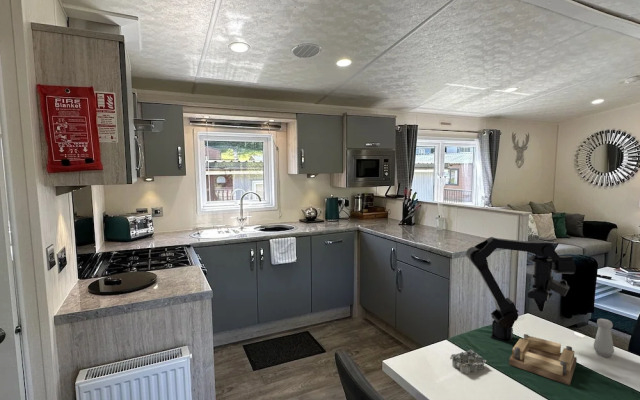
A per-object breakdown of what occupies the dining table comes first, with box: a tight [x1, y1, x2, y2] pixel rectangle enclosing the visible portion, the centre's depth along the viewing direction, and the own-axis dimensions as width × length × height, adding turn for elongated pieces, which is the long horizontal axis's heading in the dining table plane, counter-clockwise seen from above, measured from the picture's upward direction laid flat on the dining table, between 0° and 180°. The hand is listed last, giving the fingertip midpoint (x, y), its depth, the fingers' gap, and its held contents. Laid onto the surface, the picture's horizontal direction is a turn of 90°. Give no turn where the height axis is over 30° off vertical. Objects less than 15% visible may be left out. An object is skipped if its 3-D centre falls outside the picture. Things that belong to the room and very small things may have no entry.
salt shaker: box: [593, 318, 615, 358], centre depth 120 cm, size 6×6×13 cm
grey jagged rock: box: [449, 348, 487, 375], centre depth 114 cm, size 11×8×4 cm
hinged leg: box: [523, 333, 562, 355], centre depth 121 cm, size 11×3×4 cm, turn 51°
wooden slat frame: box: [508, 338, 578, 386], centre depth 115 cm, size 17×17×6 cm
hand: (541, 311), depth 130 cm, fingers closed
